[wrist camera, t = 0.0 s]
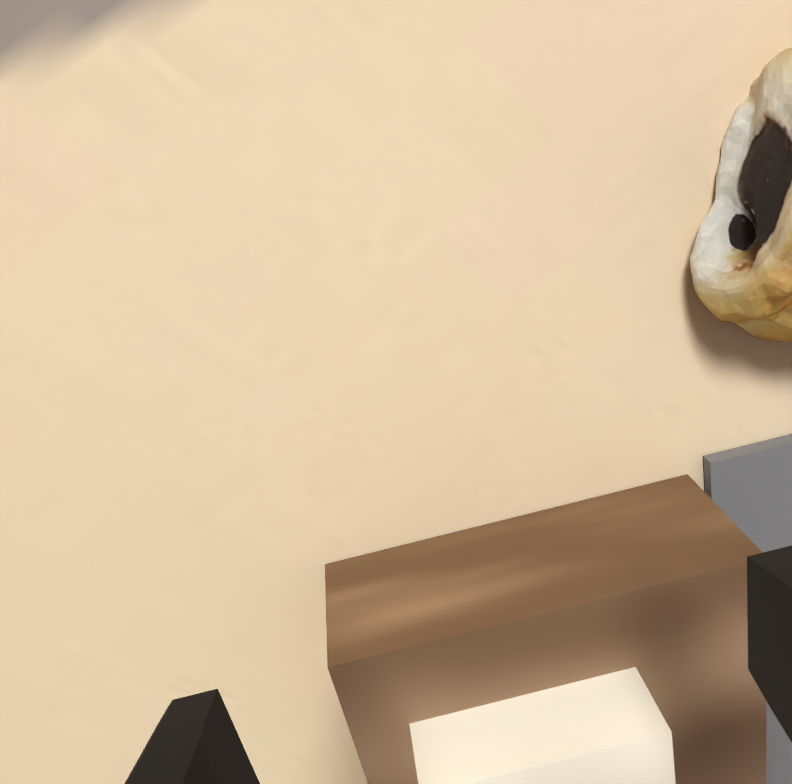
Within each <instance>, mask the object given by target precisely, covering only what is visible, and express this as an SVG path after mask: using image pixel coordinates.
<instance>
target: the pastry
mask: <svg viewBox="0 0 792 784" xmlns="http://www.w3.org/2000/svg"><path fill="white" fill-rule="evenodd" d="M715 192H716V195H715V201H714V203H713V205H712V207H711V209H710V210H709V212H708V213H707V215H706V216H705V218H704V220H703V222H702V224H701V226H700V228H699V231H698V234H697V237H696V240H695V243H694V247H693V250H692V253H691V256H690V268H691V274H692V279H693V284H694V289H695V292H696V294H697V295H698V297H699V298H700V300H701V301H702V302H703V304H704V305H705V306H706V307H707V308H708V309H709V310H710V311H711V312H712V313H713V314H714V315H715V317H717V318H718V319H720V320H721V321H730V322H733V323H735V324H737V325H738V326H740V327H742V328H743V329H744V330H746V331H747V332H749V333H750V334H752V335H753V336H755V337H757V338H759V339H765V340H770V341H775V342H780V341H787V342H791V343H792V48H789V49H786V50H784V51H782V52H781V53H780V54H778V55H777V56H776V57H775V58H773V59H772V60H771V61H770V62H769V63H768V64H767V65H766V66H765V67H764V69H763V71H762V72H761V74H760V76H759V77H758V78H757V79H756V80H755V81H754V82H753V83H752V85H751V87H750V92H749V96H748V97H747V99H746V100H745V101H744V102H743V103H742V104H740V105H739V106H738V107H737V108H736V110H735V112H734V114H733V117H732V120H731V122H730V125H729V128H728V130H727V132H726V134H725V136H724V139H723V142H722V145H721V158H720V162H719V166H718V170H717V175H716V188H715Z"/></svg>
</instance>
